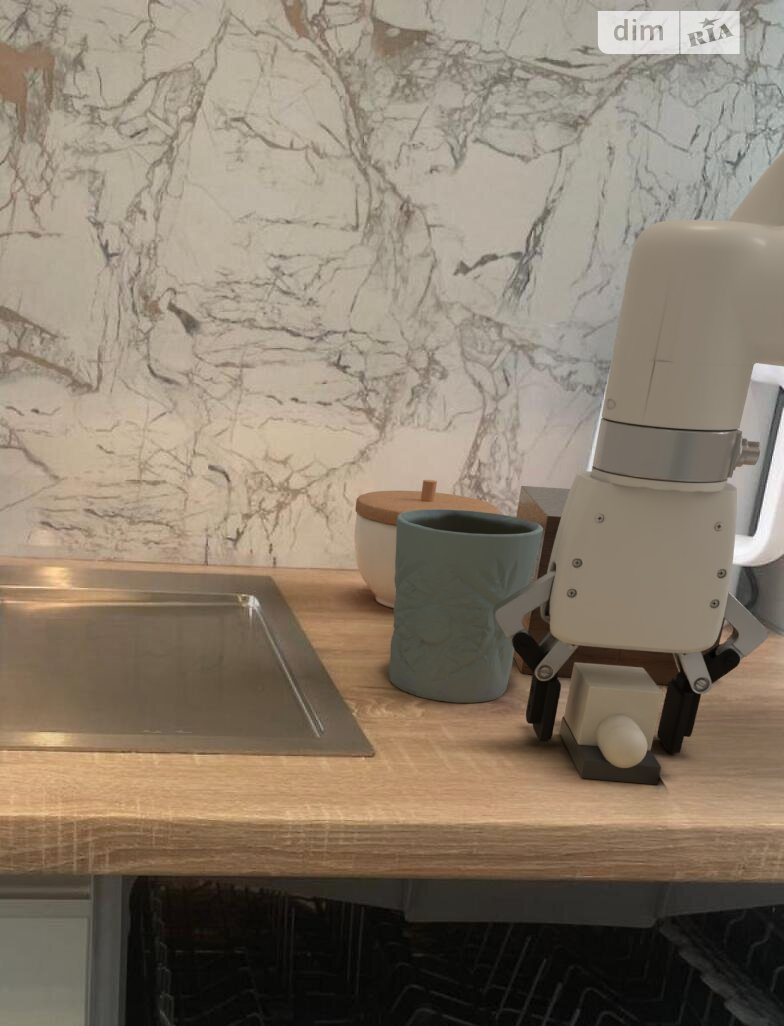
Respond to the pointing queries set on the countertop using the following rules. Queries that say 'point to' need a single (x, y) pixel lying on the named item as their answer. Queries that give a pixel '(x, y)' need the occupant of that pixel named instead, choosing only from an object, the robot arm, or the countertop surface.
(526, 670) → the stepped wooden block
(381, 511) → the lidded bowl
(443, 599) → the grey-green ceramic cup
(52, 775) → the countertop surface
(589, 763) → the cream and grey block
